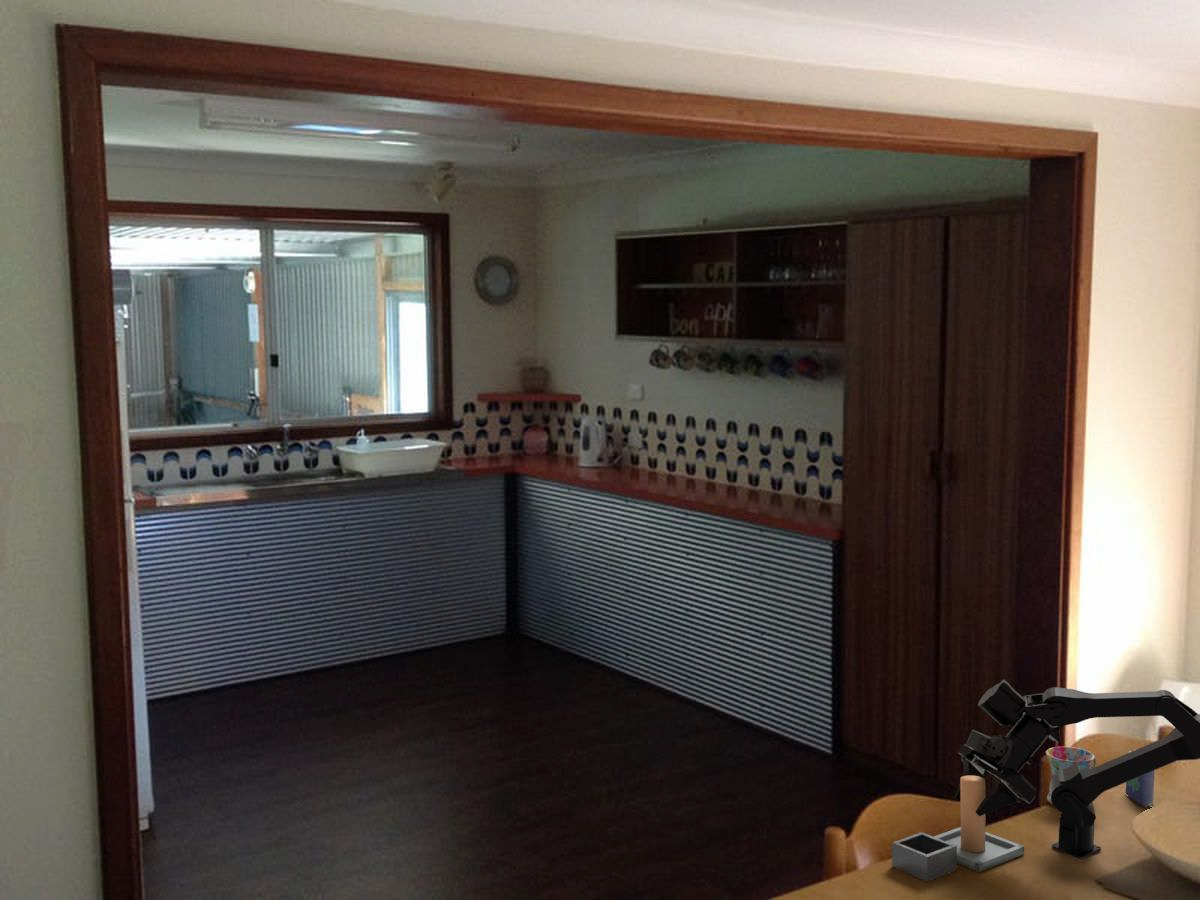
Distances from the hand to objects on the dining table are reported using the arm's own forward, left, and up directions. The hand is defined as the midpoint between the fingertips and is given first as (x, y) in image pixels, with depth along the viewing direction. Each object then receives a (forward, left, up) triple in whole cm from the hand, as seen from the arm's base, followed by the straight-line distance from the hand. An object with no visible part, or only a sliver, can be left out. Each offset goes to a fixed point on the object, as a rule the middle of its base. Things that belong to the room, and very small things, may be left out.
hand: (966, 807), depth 238 cm
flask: (-49, +5, -9) cm, 50 cm away
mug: (-37, -2, -9) cm, 38 cm away
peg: (-1, +1, -8) cm, 8 cm away
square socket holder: (+12, 0, -9) cm, 15 cm away
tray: (-1, +1, -9) cm, 9 cm away
